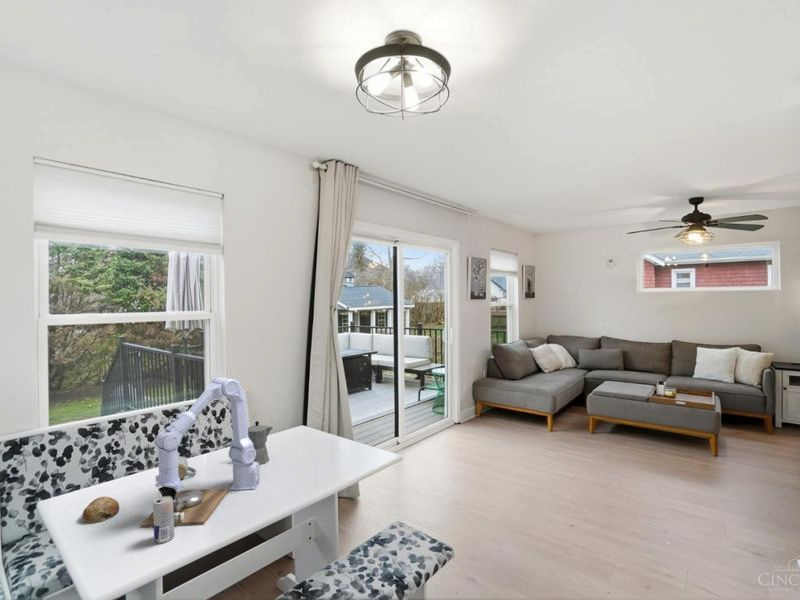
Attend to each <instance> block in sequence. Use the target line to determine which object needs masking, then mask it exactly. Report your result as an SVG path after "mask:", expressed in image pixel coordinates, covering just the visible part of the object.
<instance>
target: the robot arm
mask: <svg viewBox="0 0 800 600" xmlns="http://www.w3.org/2000/svg"><path fill="white" fill-rule="evenodd" d="M223 398H226V399H228V400H229V401H230V414H231V426H232V438H233V439H232V440H231V442H230V443H229V445H230V447H229V451H228V458H229V459H231V462H232V478H233V479H232V482H233V483H232V485H231V486H230V488H229V491H242V490H244V491H245V490H246V491H247V490H255V489H256V488H257V486H258V484H259V483H260V481H261V478H260V475H261V474H260V471H261V470H260V465H259V463H258V462H254V459H255V457H256V451H255V449H254V447H253V443H252V441H251V440H250V439H249V437H248V428H249V426H248V417H247V416H248V415H247V403H246V402H247V401H246V400H247V399H246V392H245V390H244V388H243V387H242V386H241V382H240V381H238V380H237V379H234V378H228V377H227V378H226V377H223V376H216V377H214V378H213V379H212V380H211V381H210V382H209V383H207V384H206V387H205V390H204V391H203V392H202V393H201V395H200V396H199V397H198V398H197V399H196V400H195V402H194V403H193V404H192V405H191V407H189V409H188V410H187V411H182V412H180V413H178V414H177V415H176V416H175V417H176V418H175V419H173V421H172V423H170V425H168V426H166V427H165V430H163V431H160V432H158V434H157V436H156V437H155V440H154V441H153V443H154V445H155V446H156V447H157V451H158V457H157V458H158V475H155V482H156V483H155V487H157V488H158V492H159V493H160V494H161V497H164V496H171V497H172V499H174V498H175V496H176V493H177V492H179V491H182V490H184V484H183V483H182V481H181V480H180V478H179V474H178V456H179V454H178V453H179V452H178V451H179V450H178V449H179V448H178V447H179V446H180V445H181V443H182V439H183V438H184V436H185V434H186V433H188V431H189V430H190V429H191V428H192V427H193V425H194V424H195V423H196V420H197V418H196V417H198V415H199V414H201V412H203V410H204V409H206V407H208V405H209V404H211V402H213V401H214V400H219V399H223Z"/></svg>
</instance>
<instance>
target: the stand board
mask: <svg viewBox="0 0 800 600" xmlns="http://www.w3.org/2000/svg"><path fill="white" fill-rule="evenodd" d="M191 491H200V492H202V493H203V501H202V502H201V503H199V504H198V505H195V506H193V507H188V508H182V509H181V510H180V511H178V512H176V513H174V527H178V526H179V527H180V526H181V527H183V526H198V525H199V526H201V525H205V523H207V521H208V520H209V519H210V517H211V516H212V515H213V513H214V511H216V510H217V507H218V506H219V505H221V503H222V502H223V500H224V498H225V497H226V496H227V495H228V493H229V492H230V488H226V487H225V488H209V489H208V488H207V489H204V488H203V489H185V490H184V489H183V490H182V491H179V492H177V493H176V496H175V498H176V499H178V497H179V496H180V495H182V494H184V493H187V492H191ZM177 506H178V503H177ZM140 528H141V529H142V528H154V519H153V512H151V514H150V515H149V516H148V517H147V518H146V519H145V520H143V521H142V522H141V523H140Z"/></svg>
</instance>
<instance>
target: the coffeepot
mask: <svg viewBox="0 0 800 600" xmlns="http://www.w3.org/2000/svg"><path fill="white" fill-rule="evenodd" d="M254 423H255V425H252V426H248V437H249V439H250V440H251V441H252V443H253V447H254V449H255V451H256V457H255V459H254V462H258V463H259V466H261V465H265V464H266V463H268V462H269V461H270V459H269V453H268V449H267V446H266V445H267V444H266V443H267V441H268V436H269V433H270V432H271V431H272V430H273V427H272V426H267V425H266V424H259V423H260V421H257V420H256V421H255V422H254Z"/></svg>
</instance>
